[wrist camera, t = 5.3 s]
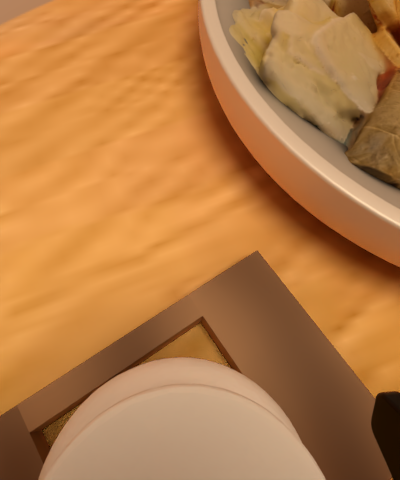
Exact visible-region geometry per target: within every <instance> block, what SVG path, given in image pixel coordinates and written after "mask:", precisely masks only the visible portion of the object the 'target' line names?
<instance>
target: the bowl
mask: <svg viewBox="0 0 400 480" xmlns="http://www.w3.org/2000/svg"><path fill="white" fill-rule="evenodd" d="M198 22H199V34H200V41H201V47H202V52H203V57H204V61H205V65H206V68H207V72H208V75H209V78H210V81H211V84H212V86H213V89H214V92H215V94H216V96H217V98H218V100H219V103H220V105H221V107H222V109H223V111H224V113H225V115H226V116H227V118H228V120H229V122H230V124H231V126H232V127H233V129H234V130H235V132H236V133H237V135H238V136H239V138H240V139H241V141H242V142H243V144H244V145H245V146H246V148H247V149H248V150H249V152H250V153H251V154H252V156H253V157H254V158H255V159H256V161H257V162H258V163H259V164H260V165H261V167H262V168H263V169H264V170H265V171H266V172H267V173H268V174H269V176H270V177H271V178H272V179H273V180H274V181H275V182H276V183H277V184H278V185H279V186H280V187H281V188H282V189H283V190H284V191H285V192H286V193H288V194H289V195H290V196H291V197H292V198H293V199H294V200H295V201H296V202H298V203H299V204H300V205H301V206H302V207H304V208H305V209H306V210H307V211H308V212H310V213H311V214H312V215H313V216H315V217H316V218H317V219H319V220H320V221H322V222H323V223H324V224H326V225H327V226H328V227H330V228H331V229H333V230H334V231H336V232H337V233H339V234H340V235H342V236H343V237H345V238H346V239H348V240H350V241H351V242H353V243H355V244H356V245H358V246H360V247H361V248H363V249H365V250H366V251H368V252H370V253H372V254H374V255H376V256H378V257H380V258H382V259H384V260H385V261H387V262H389V263H392V264H394V265H396V266H398V267H400V0H198Z"/></svg>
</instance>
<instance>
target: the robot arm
mask: <svg viewBox="0 0 400 480" xmlns="http://www.w3.org/2000/svg"><path fill="white" fill-rule="evenodd" d="M371 428H372V432H373V434H374V437H375V439H376V441H377V443H378V446H379V448H380V450H381V453H382V455H383V457H384V459H385V462H386V464H387V466H388V469H389V471H390V473H391V475H392V478H393V480H400V393H399V392H396V391H392V392H381V393H379V394H378V395H377V396H376V399H375V404H374V409H373V413H372V418H371Z"/></svg>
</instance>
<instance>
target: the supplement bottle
mask: <svg viewBox="0 0 400 480" xmlns="http://www.w3.org/2000/svg"><path fill="white" fill-rule="evenodd" d="M38 480H326V479H325V477H324V475H323V473H322V472H321V470H320V468H319V467H318V465H317V463H316V462H315V460H314V458H313V457H312V455H311V454H310V453H309V451H308V450H307V449H306V447H305V446H304V445H303V444H302V442H301V440H300V438H299V436H298V434H297V432H296V430H295V428H294V427H293V425H292V423H291V421H290V420H289V418H288V417H287V416H286V414H285V413H284V412H283V410H282V409H281V408H280V406H279V405H278V404H277V403H276V402H275V401H274V400H273V399H272V398H271V397H270V396H269V395H268V394H267V393H266V391H264V390H263V389H262V388H261V387H260V386H258V385H257V384H256V383H255V382H253V381H252V380H250V379H249V378H247V377H246V376H244V375H243V374H241V373H239V372H237V371H235V370H233V369H231V368H229V367H227V366H224V365H222V364H219V363H215V362H212V361H208V360H204V359H198V358H190V357H175V358H165V359H159V360H154V361H150V362H148V363H145V364H142V365H139V366H137V367H134V368H132V369H130V370H128V371H126V372H123V373H121V374H119V375H117V376H116V377H114V378H113V379H111V380H109V381H108V382H107V383H105V384H104V385H102V386H101V387H100V388H98V389H97V390H96V391H95V392H93V393H92V394H91V395H90V396H89V397H88V398H87V399H86V400H85V401H84V402H83V403H82V404H81V405H80V406H79V408H78V409H77V410H76V411H75V413H74V414H73V415H72V416H71V418H70V419H69V420H68V421H67V423H66V424H65V426H64V427H63V429H62V430H61V432H60V433H59V435H58V437H57V439H56V440H55V442H54V444H53V446H52V448H51V450H50V452H49V454H48V456H47V458H46V460H45V463H44V465H43V468H42V470H41V473H40V476H39V479H38Z"/></svg>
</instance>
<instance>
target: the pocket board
mask: <svg viewBox="0 0 400 480" xmlns="http://www.w3.org/2000/svg"><path fill="white" fill-rule="evenodd" d="M200 322H201V323H202V325H203V326H204V328H205V329H206V331H207V332H208V334H209V335H210V337H211V338H212V340H213V341H214V343H215V344H216V345H217V347H218V348H219V350H220V351H221V353H222V354H223V356H224V357H225V359H226V360H227V362H228V363H229V365H230V366H231V368H232V369H233V370H235V371H237V372H239V373H241V374H243V375H244V376H246V377H247V378H249V379H250V380H252V381H253V382H255V383H256V384H257V385H258V386H260V387H261V388H262V389H263V390H264V391H266V393H267V394H268V395H269V396H270V397H271V398H272V399H273V400H274V401H275V402H276V403H277V404H278V405H279V406H280V408H281V409H282V410H283V412H284V413H285V414H286V416H287V417H288V418H289V420H290V421H291V423H292V425H293V427H294V428H295V430H296V432H297V434H298V436H299V438H300V440H301V442H302V444H303V445H304V446H305V447H306V449H307V450H308V451H309V453H310V454H311V455H312V457H313V458H314V460H315V462H316V463H317V465H318V467H319V468H320V470H321V472H322V473H323V475H324V477H325V479H326V480H390V479H391V478H392V475H391V473H390V471H389V469H388V466H387V464H386V462H385V459H384V457H383V455H382V453H381V450H380V448H379V446H378V443H377V441H376V439H375V437H374V434H373V432H372V428H371V418H372V413H373V409H374V404H375V398H374V397H373V396H372V394H371V393H370V392H369V391H368V389H367V388H366V387H365V386H364V384H363V383H362V382H361V381H360V379H359V378H358V377H357V376H356V374H355V373H354V372H353V370H352V369H351V368H350V367H349V365H348V364H347V363H346V362H345V360H344V359H343V358H342V357H341V355H340V354H339V353H338V352H337V350H336V349H335V348H334V347H333V345H332V344H331V343H330V341H329V340H328V339H327V338H326V336H325V335H324V334H323V333H322V331H321V330H320V329H319V328H318V326H317V325H316V324H315V323H314V321H313V320H312V319H311V318H310V316H309V315H308V314H307V312H306V311H305V310H304V309H303V307H302V306H301V305H300V304H299V302H298V301H297V300H296V299H295V297H294V296H293V295H292V294H291V292H290V291H289V290H288V289H287V287H286V286H285V285H284V283H283V282H282V281H281V280H280V278H279V277H278V276H277V275H276V273H275V272H274V271H273V270H272V268H271V267H270V266H269V265H268V263H267V262H266V261H265V260H264V258H263V257H262V256H261V254H260V253H259V252H258V251H255V252H254V253H252V254H251V255H249V256H248V257H246V258H245V259H243V260H241V261H240V262H238V263H237V264H235V265H234V266H232V267H231V268H229V269H228V270H226V271H224V272H223V273H221V274H220V275H218V276H217V277H215V278H214V279H212V280H210V281H209V282H207V283H206V284H204V285H203V286H201V287H200V288H198V289H197V290H195V291H193V292H192V293H190V294H189V295H187V296H186V297H184V298H183V299H181V300H179V301H178V302H176V303H175V304H173V305H172V306H170V307H169V308H167V309H165V310H164V311H162V312H161V313H159V314H158V315H156V316H155V317H153V318H152V319H150V320H148V321H147V322H145V323H144V324H142V325H141V326H139V327H138V328H136V329H134V330H133V331H131V332H130V333H128V334H127V335H125V336H124V337H122V338H121V339H119V340H117V341H116V342H114V343H113V344H111V345H110V346H108V347H107V348H105V349H103V350H102V351H100V352H99V353H97V354H96V355H94V356H93V357H91V358H90V359H88V360H86V361H85V362H83V363H82V364H80V365H79V366H77V367H76V368H74V369H72V370H71V371H69V372H68V373H66V374H65V375H63V376H62V377H60V378H58V379H57V380H55V381H54V382H52V383H51V384H49V385H48V386H46V387H45V388H43V389H41V390H40V391H38V392H37V393H35V394H34V395H32V396H31V397H29V398H27V399H26V400H24V401H23V402H21V403H20V404H18V405H17V406H15V407H14V408H12V409H10V410H9V411H7V412H6V413H4V414H3V415H1V416H0V480H38V479H39V476H40V473H41V470H42V468H43V465H44V463H45V460H46V458H47V456H48V454H49V452H50V448H49V445H48V443H47V441H46V439H45V437H44V435H43V432H42V430H43V429H44V428H45V427H47V426H48V425H50V424H51V423H53V422H54V421H56V420H57V419H59V418H60V417H62V416H63V415H65V414H66V413H68V412H69V411H70V410H72V409H73V408H75V407H76V406H78V405H79V404H81V403H82V402H84V401H85V400H86V399H87V398H88V397H89V396H90V395H91V394H92V393H93V392H95V391H96V390H97V389H98V388H100V387H101V386H102V385H104V384H105V383H107V382H108V381H109V380H111V379H113V378H114V377H116V376H117V375H119V374H121V373H123V372H126V371H128V370H130V369H132V368H134V367H135V366H137V365H138V364H140V363H141V362H143V361H144V360H146V359H147V358H149V357H150V356H151V355H153V354H154V353H156V352H157V351H159V350H160V349H162V348H163V347H165V346H166V345H168V344H169V343H171V342H172V341H174V340H175V339H177V338H178V337H179V336H181V335H182V334H184V333H185V332H187V331H188V330H190V329H191V328H193V327H194V326H196V325H197V324H199V323H200Z"/></svg>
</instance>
